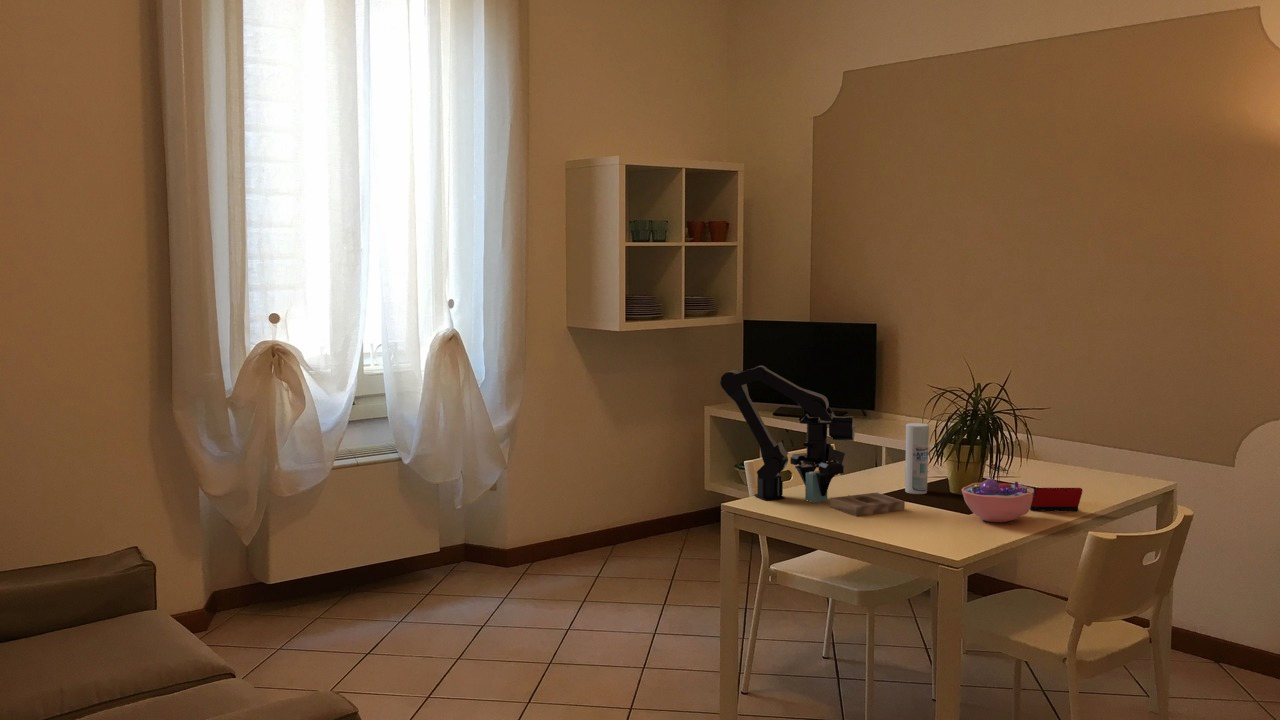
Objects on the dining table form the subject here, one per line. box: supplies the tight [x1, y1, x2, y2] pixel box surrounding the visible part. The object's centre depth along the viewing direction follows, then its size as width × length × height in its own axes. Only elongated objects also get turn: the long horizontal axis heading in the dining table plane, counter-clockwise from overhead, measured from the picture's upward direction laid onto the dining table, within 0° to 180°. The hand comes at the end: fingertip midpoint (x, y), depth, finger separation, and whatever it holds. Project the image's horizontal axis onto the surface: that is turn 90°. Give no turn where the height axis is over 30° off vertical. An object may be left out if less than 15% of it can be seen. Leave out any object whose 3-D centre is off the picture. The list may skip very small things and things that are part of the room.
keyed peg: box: [804, 470, 828, 503], centre depth 287 cm, size 5×4×8 cm
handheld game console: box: [1029, 487, 1083, 513], centre depth 275 cm, size 12×11×7 cm
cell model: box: [961, 478, 1035, 523], centre depth 264 cm, size 17×20×11 cm
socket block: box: [829, 492, 906, 517], centre depth 277 cm, size 16×12×2 cm
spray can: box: [904, 422, 930, 495], centre depth 297 cm, size 6×6×20 cm
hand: (816, 493), depth 287 cm, fingers open, 7 cm apart
